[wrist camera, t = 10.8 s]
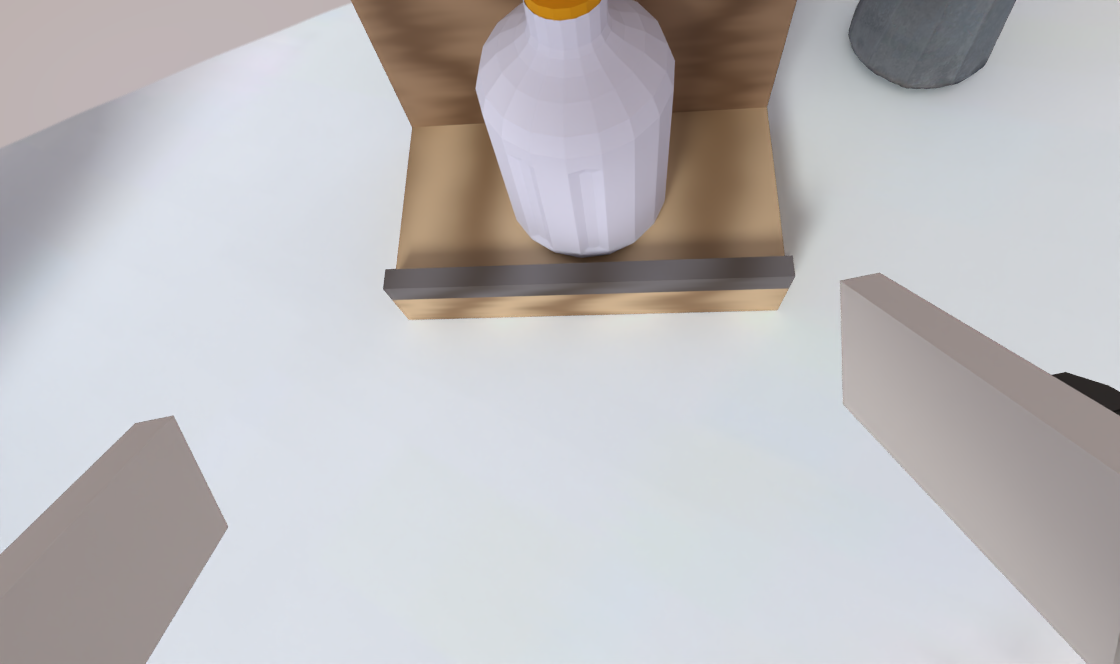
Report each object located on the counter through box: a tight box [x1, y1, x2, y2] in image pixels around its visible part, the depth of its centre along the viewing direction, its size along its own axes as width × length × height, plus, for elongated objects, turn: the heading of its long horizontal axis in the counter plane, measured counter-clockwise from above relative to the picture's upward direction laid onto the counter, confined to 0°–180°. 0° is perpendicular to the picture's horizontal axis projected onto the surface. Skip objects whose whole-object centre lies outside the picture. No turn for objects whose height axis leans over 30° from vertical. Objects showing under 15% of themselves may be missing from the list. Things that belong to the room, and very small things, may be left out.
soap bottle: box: [475, 0, 675, 258], centre depth 27 cm, size 9×9×25 cm
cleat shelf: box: [351, 0, 797, 320], centre depth 28 cm, size 22×14×30 cm, turn 89°
